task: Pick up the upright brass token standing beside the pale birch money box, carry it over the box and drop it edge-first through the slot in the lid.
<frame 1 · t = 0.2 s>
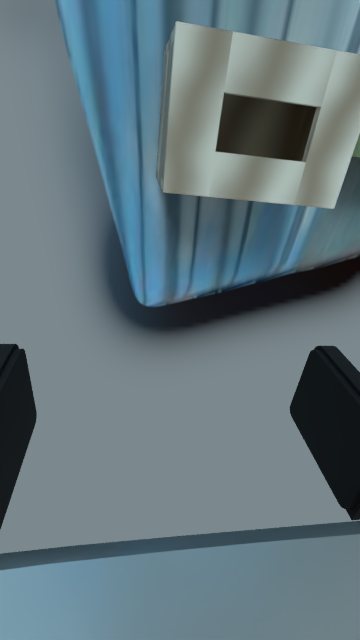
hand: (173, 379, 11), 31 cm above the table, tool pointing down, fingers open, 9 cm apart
money box: (234, 128, 34), on the table
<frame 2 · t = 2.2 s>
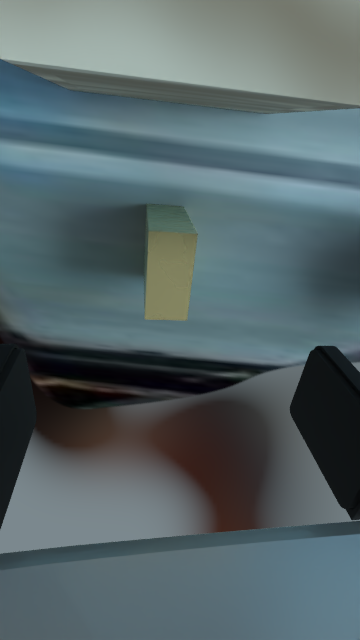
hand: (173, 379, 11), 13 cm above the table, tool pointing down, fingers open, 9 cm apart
brass token: (162, 243, 22), on the table
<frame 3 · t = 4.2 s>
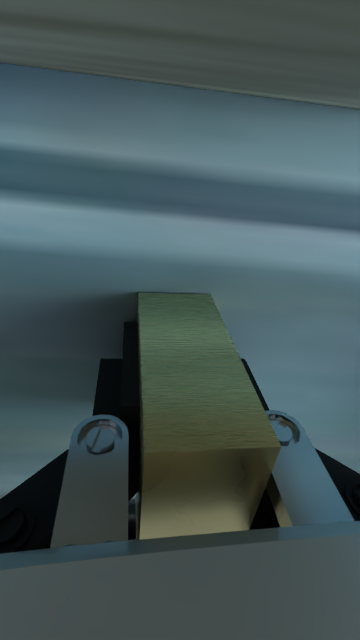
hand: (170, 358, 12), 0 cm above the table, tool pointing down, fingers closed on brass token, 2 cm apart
brass token: (169, 354, 12), on the table, touching gripper
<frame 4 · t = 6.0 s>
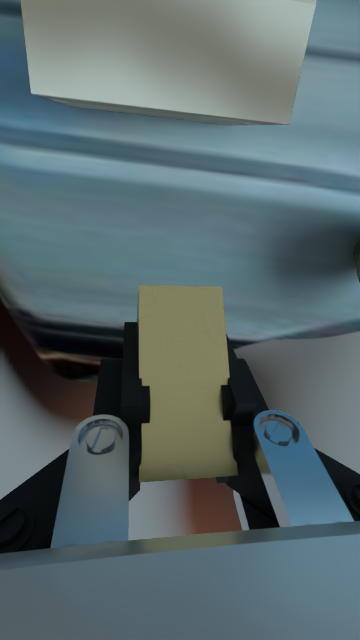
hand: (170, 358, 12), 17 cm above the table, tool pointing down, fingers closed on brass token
brass token: (162, 393, 14), point 16 cm above the table, tilted 48°, touching gripper
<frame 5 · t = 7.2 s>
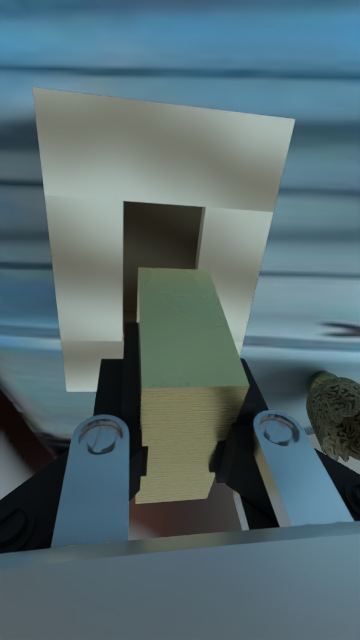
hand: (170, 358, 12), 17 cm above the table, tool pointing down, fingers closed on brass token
brass token: (165, 433, 13), point 17 cm above the table, tilted 81°, touching gripper
money box: (151, 230, 26), on the table
cup: (319, 380, 37), on the table
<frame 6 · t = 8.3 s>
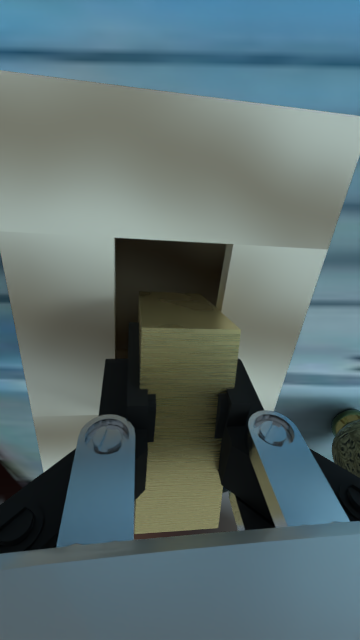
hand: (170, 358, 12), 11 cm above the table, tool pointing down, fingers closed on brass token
brass token: (168, 469, 12), point 13 cm above the table, tilted 106°, touching gripper
money box: (153, 254, 21), on the table
cup: (344, 417, 33), on the table
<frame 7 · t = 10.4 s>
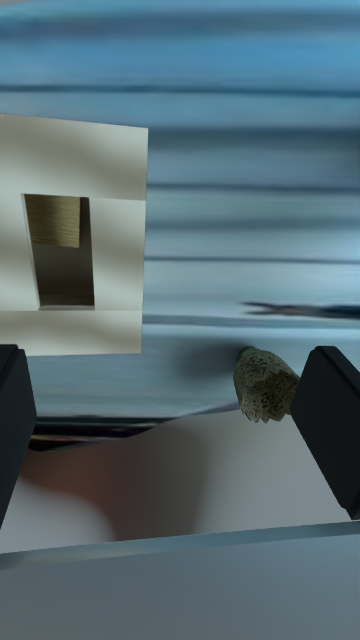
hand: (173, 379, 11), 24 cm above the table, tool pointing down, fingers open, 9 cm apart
brass token: (51, 240, 29), point 2 cm above the table, tilted 90°, touching money box
money box: (77, 221, 30), on the table
cup: (248, 355, 42), on the table
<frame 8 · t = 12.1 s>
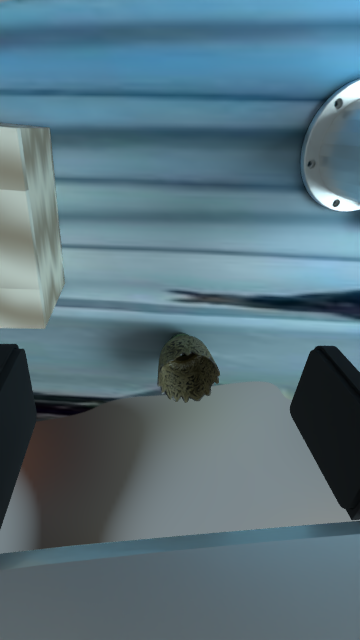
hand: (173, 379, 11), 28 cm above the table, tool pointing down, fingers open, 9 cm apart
money box: (2, 211, 33), on the table
cup: (180, 341, 45), on the table
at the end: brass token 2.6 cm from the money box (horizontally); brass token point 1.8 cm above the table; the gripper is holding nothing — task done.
